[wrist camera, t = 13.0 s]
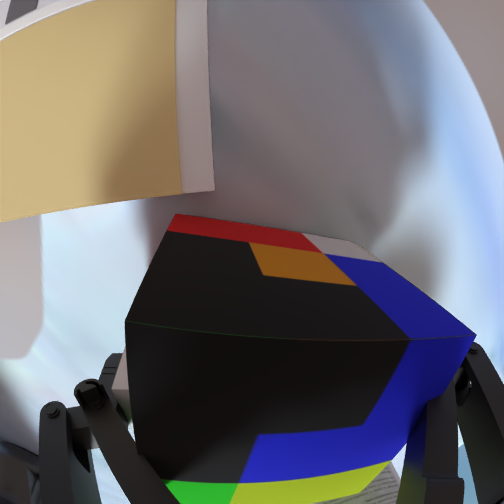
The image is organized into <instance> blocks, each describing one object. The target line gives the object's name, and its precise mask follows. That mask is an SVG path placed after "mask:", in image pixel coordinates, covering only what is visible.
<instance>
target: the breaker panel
mask: <svg viewBox="0 0 504 504" xmlns="http://www.w3.org/2000/svg"><path fill="white" fill-rule="evenodd" d="M205 191H215V183H214V168H213V152H212V134H211V115H210V93H209V66H208V27H207V0H0V222H5V221H10V220H15V219H20V218H24V217H30V216H35V215H40V214H45V213H51V212H56V211H62V210H68V209H74V208H80V207H86V206H93V205H99V204H106V203H113V202H121V201H128V200H136V199H144V198H152V197H161V196H170V195H180V194H184V193H194V192H205Z"/></svg>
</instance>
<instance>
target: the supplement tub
mask: <svg viewBox="0 0 504 504" xmlns="http://www.w3.org/2000/svg"><path fill="white" fill-rule="evenodd" d="M400 482H401V479H400V477H399V475H398V474H397V472H396V470H395V468H394V466H393V464H392V462H391V461H390V463H389V464H388V465H387V466H386V467H385V468H384V469H383V470H382V471H381V472H380V473H379V474H378V475H377V476H376V477H375V478H374V479H373V480H372V481H371V482H370V483H369V484H368V485H367V486H366V487H365V488H364V489H363V490H362V491H361V492H360V493H357V494H353V495H349V496H345V497H341V498H337V499H332V500H327V501H322V502H317V503H311V504H396V501H397V496H398V492H399V487H400Z"/></svg>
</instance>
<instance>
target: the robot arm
mask: <svg viewBox="0 0 504 504" xmlns="http://www.w3.org/2000/svg"><path fill="white" fill-rule="evenodd" d="M470 381H471V384H470ZM74 396H75V397H76V399H77V401H78V403H79V404H80V406H77V407H72V408H66V407H65V406H64V405H63V403H61V402H58V401H52V402H49V403H47V404H46V405H44V406H43V408H42V409H41V412H40V422H39V457H38V456H36V455H34V454H32V453H30V452H28V451H26V450H24V449H22V448H20V447H17V446H15V445H12V444H9V443H6V442H0V504H102V503H101V499H100V494H99V490H98V485H97V481H96V476H95V470H94V465H93V459H92V453H91V449H96V448H100V450H101V452H102V454H103V456H104V458H105V460H106V462H107V464H108V465H109V467H110V469H111V471H112V473H113V475H114V476H115V478H116V480H117V482H118V483H119V485H120V487H121V488H122V490H123V492H124V493H125V495H126V496H127V498H128V500H129V501H130V503H131V504H180V502H179V501H178V500H177V499H176V498H175V496H174V495H173V494H172V493H171V491H170V490H169V489H168V488H167V486H166V485H165V484H164V482H163V481H162V480H161V478H160V477H159V476H158V474H157V473H156V472H155V470H154V469H153V468H152V466H151V465H150V463H149V462H148V460H147V459H146V458H145V456H144V455H143V454H137V448H136V443H135V441H134V439H133V438H132V436H131V435H130V433H129V431H128V425H130V427H131V429H132V431H134V429H133V422H132V414H131V406H130V397H129V387H128V375H127V361H126V346H125V349H124V352H123V353H112V354H111V355H110V356H109V357H108V358H107V360H106V362H105V364H104V367H103V369H102V372H101V375H100V377H99V380H96V379H87V380H84V381H82V382H80V383H79V384H78V385H77V386H76V387H75V389H74ZM457 422H458V423H457ZM458 425H459V428H460V432H461V435H462V438H463V442H464V445H465V449H466V452H467V455H468V460H469V463H470V467H471V472H472V476H473V481H474V485H475V490H476V495H477V500H478V504H504V384H503V382H502V381H501V379H500V377H499V375H498V373H497V372H496V370H495V368H494V366H493V365H492V363H491V361H490V359H489V358H488V356H487V354H486V353H485V351H484V349H483V348H482V347H481V346H480V345H479V344H477V343H475V342H473V343H472V345H471V347H470V349H469V351H468V353H467V355H466V356H465V358H464V360H463V362H462V363H461V365H460V367H459V369H458V370H457V372H456V374H455V375H454V377H453V379H452V380H451V382H450V384H449V385H448V387H447V388H446V390H445V391H444V393H443V394H441V395H439V396H437V397H435V398H433V399H431V400H428V401H427V402H426V404H425V406H424V408H423V410H422V412H421V414H420V416H419V418H418V420H417V422H416V424H415V426H414V428H413V430H412V431H411V433H410V435H409V437H408V439H407V445H406V452H405V459H404V465H403V471H402V476H401V482H400V487H399V492H398V496H397V501H396V504H463V499H464V480H463V478H459V477H458Z"/></svg>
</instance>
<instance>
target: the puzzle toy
mask: <svg viewBox="0 0 504 504" xmlns="http://www.w3.org/2000/svg"><path fill="white" fill-rule="evenodd" d="M475 337H476V334H475V333H474V332H473V331H471V330H470V329H469V328H468V327H467V326H465V325H464V324H463V323H462V322H460V321H459V320H458V319H457V318H455V317H454V316H453V315H452V314H450V313H449V312H448V311H447V310H445V309H444V308H443V307H442V306H440V305H439V304H438V303H437V302H435V301H434V300H433V299H431V298H430V297H429V296H427V295H426V294H425V293H424V292H422V291H421V290H420V289H418V288H417V287H416V286H414V285H413V284H412V283H410V282H409V281H408V280H406V279H405V278H403V277H402V276H401V275H399V274H398V273H397V272H395V271H394V270H392V269H391V268H390V267H388V266H387V265H386V264H384V263H383V262H381V261H380V260H379V259H377V258H376V257H374V256H373V255H371V254H370V253H369V252H367V251H366V250H364V249H363V248H361V247H360V246H358V245H357V244H356V243H354V242H350V241H345V240H339V239H334V238H328V237H322V236H316V235H311V234H305V233H299V232H293V231H287V230H281V229H275V228H269V227H262V226H256V225H250V224H243V223H237V222H230V221H224V220H217V219H210V218H203V217H197V216H190V215H183V214H175V215H174V217H173V219H172V221H171V223H170V225H169V227H168V229H167V231H166V233H165V235H164V237H163V239H162V241H161V243H160V245H159V247H158V249H157V251H156V253H155V255H154V257H153V259H152V261H151V264H150V266H149V268H148V270H147V272H146V274H145V276H144V278H143V281H142V283H141V285H140V287H139V289H138V292H137V294H136V296H135V298H134V301H133V303H132V305H131V308H130V310H129V312H128V315H127V317H126V319H125V343H126V361H127V375H128V387H129V397H130V406H131V414H132V422H133V429H134V435H135V442H136V448H137V454H143V455H144V456H145V458H146V459H147V460H148V462H149V463H150V465H151V466H152V468H153V469H154V470H155V472H156V473H157V474H158V476H159V477H160V478H161V480H162V481H163V482H164V484H165V485H166V486H167V488H168V489H169V490H170V491H171V493H172V494H173V495H174V496H175V498H176V499H177V500H178V501H179V502H180V504H311V503H317V502H322V501H327V500H332V499H337V498H341V497H345V496H349V495H353V494H357V493H360V492H361V491H362V490H363V489H364V488H365V487H366V486H367V485H368V484H369V483H370V482H371V481H372V480H373V479H374V478H375V477H376V476H377V475H378V474H379V473H380V472H381V471H382V470H383V469H384V468H385V467H386V466H387V465H388V464H389V463H390V461H391V460H392V459H393V458H394V457H395V456H396V455H397V454H398V452H399V451H400V450H401V449H402V448H403V447H404V445H405V444H406V443H407V439H408V437H409V435H410V433H411V431H412V430H413V428H414V426H415V424H416V422H417V420H418V418H419V416H420V414H421V412H422V410H423V408H424V406H425V404H426V402H427V401H428V400H431V399H433V398H435V397H437V396H439V395H441V394H443V393H444V391H445V390H446V388H447V387H448V385H449V384H450V382H451V380H452V379H453V377H454V375H455V374H456V372H457V370H458V369H459V367H460V365H461V363H462V362H463V360H464V358H465V356H466V355H467V353H468V351H469V349H470V347H471V345H472V343H473V341H474V339H475Z"/></svg>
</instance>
